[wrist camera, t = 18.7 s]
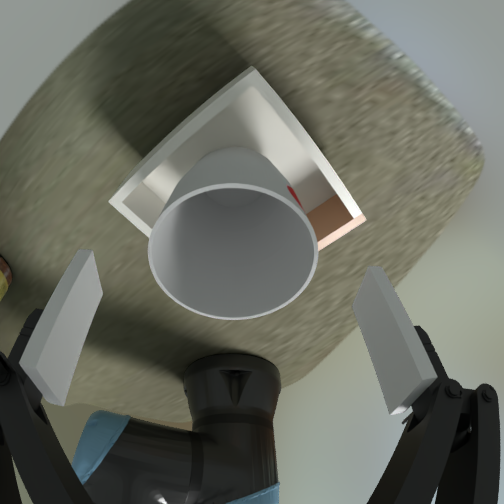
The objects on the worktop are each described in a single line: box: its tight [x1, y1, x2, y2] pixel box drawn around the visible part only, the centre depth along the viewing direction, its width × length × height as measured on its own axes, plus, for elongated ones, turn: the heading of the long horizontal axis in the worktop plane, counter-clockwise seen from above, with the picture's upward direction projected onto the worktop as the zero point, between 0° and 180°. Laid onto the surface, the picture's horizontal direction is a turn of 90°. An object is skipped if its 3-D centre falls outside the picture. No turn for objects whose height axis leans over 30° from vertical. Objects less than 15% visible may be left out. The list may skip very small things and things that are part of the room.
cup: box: [148, 146, 318, 320], centre depth 19 cm, size 8×8×10 cm
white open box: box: [108, 66, 366, 251], centre depth 23 cm, size 12×12×8 cm
